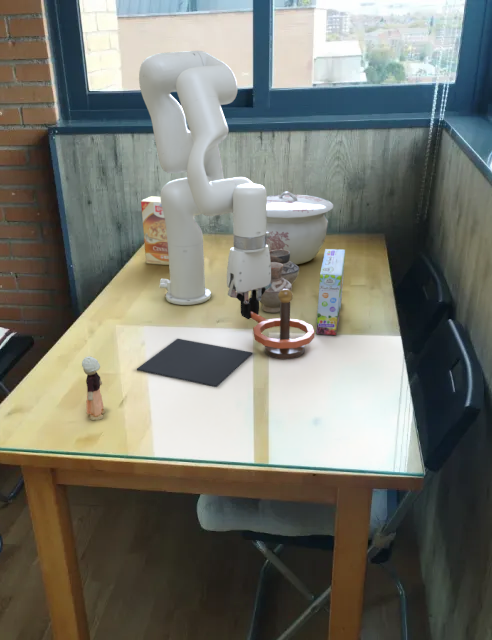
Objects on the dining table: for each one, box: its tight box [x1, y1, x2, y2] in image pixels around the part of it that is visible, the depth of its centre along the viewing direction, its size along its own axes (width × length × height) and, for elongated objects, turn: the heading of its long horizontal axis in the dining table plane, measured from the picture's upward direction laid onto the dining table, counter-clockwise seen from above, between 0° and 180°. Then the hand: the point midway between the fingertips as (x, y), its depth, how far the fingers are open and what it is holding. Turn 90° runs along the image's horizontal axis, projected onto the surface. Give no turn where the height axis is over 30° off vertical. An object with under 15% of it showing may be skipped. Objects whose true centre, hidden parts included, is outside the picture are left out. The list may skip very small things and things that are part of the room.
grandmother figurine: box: [81, 355, 106, 421], centre depth 134 cm, size 8×4×13 cm, turn 5°
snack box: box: [315, 248, 346, 336], centre depth 171 cm, size 21×6×15 cm, turn 168°
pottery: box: [259, 250, 300, 314], centre depth 185 cm, size 11×25×12 cm, turn 170°
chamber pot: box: [266, 191, 335, 266], centre depth 213 cm, size 28×28×21 cm
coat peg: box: [264, 289, 305, 360], centre depth 156 cm, size 9×9×15 cm
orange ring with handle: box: [250, 311, 316, 349], centre depth 161 cm, size 24×14×2 cm, turn 32°
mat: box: [136, 338, 253, 388], centre depth 156 cm, size 20×18×1 cm
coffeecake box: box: [140, 195, 196, 266], centre depth 215 cm, size 15×7×20 cm, turn 67°
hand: (249, 315), depth 168 cm, fingers closed on orange ring with handle, 1 cm apart
